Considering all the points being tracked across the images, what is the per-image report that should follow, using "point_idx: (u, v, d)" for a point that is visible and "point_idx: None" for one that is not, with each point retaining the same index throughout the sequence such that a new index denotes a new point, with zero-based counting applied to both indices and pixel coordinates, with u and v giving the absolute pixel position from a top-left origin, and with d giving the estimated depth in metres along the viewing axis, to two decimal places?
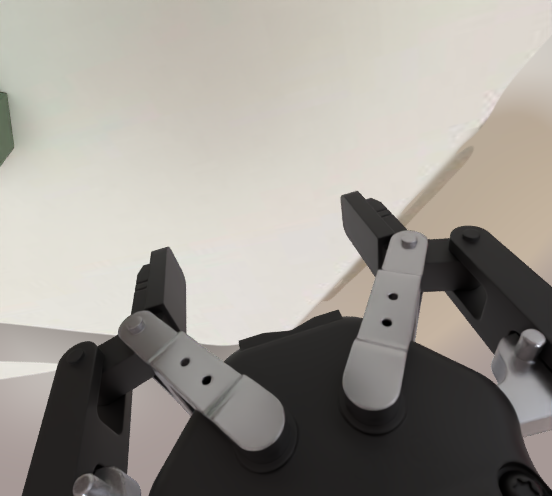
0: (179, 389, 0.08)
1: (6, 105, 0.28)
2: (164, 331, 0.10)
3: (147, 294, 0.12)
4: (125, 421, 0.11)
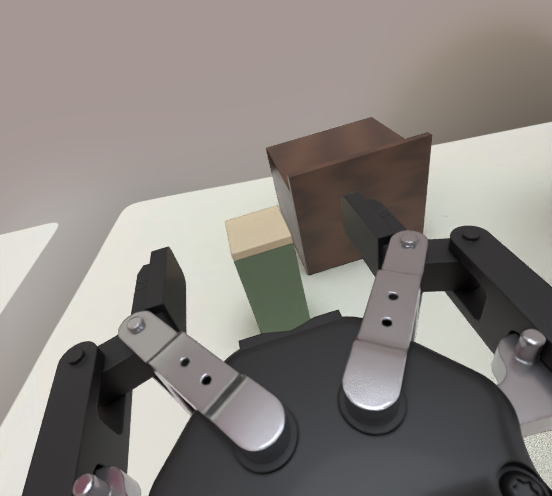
0: (179, 389, 0.08)
1: None
2: (164, 331, 0.10)
3: (147, 294, 0.12)
4: (125, 421, 0.11)
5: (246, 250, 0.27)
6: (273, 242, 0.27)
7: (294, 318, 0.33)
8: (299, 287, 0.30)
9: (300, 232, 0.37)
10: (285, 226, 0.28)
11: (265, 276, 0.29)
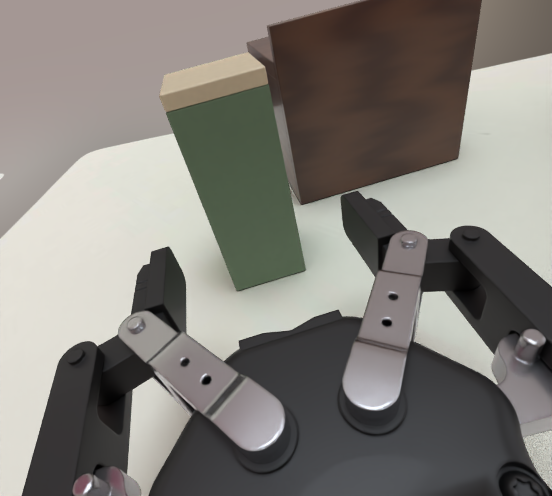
0: (179, 389, 0.08)
1: (293, 269, 0.23)
2: (164, 331, 0.10)
3: (147, 294, 0.12)
4: (125, 421, 0.11)
5: (186, 90, 0.15)
6: (234, 78, 0.15)
7: (276, 240, 0.21)
8: (282, 180, 0.19)
9: (289, 131, 0.26)
10: (256, 62, 0.16)
11: (224, 153, 0.17)
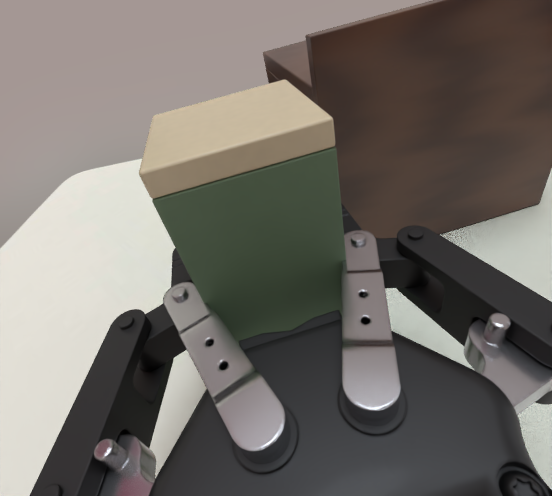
0: (198, 367, 0.09)
1: None
2: None
3: None
4: (159, 391, 0.11)
5: (189, 162, 0.08)
6: (276, 140, 0.08)
7: None
8: (339, 283, 0.12)
9: None
10: (311, 104, 0.09)
11: (253, 253, 0.10)
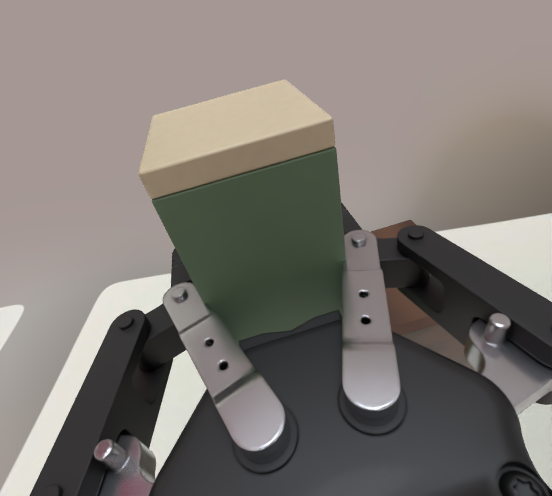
0: (197, 367, 0.09)
1: None
2: None
3: None
4: (159, 392, 0.11)
5: (188, 162, 0.08)
6: (276, 140, 0.08)
7: None
8: (339, 284, 0.12)
9: None
10: (311, 104, 0.09)
11: (253, 253, 0.10)
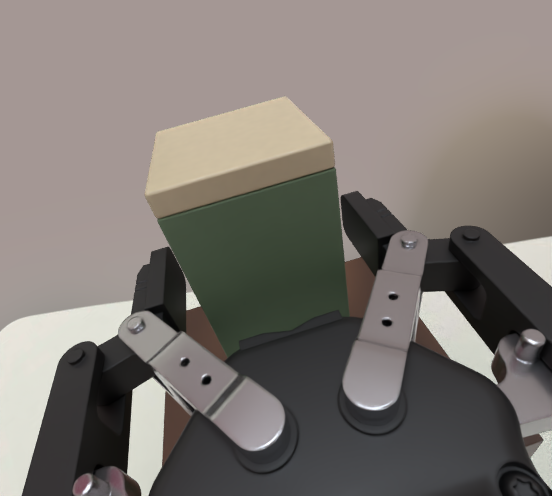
0: (179, 389, 0.08)
1: None
2: (164, 331, 0.10)
3: (147, 294, 0.12)
4: (125, 421, 0.11)
5: (193, 184, 0.09)
6: (278, 162, 0.09)
7: None
8: (339, 296, 0.12)
9: None
10: (311, 124, 0.10)
11: (254, 269, 0.11)
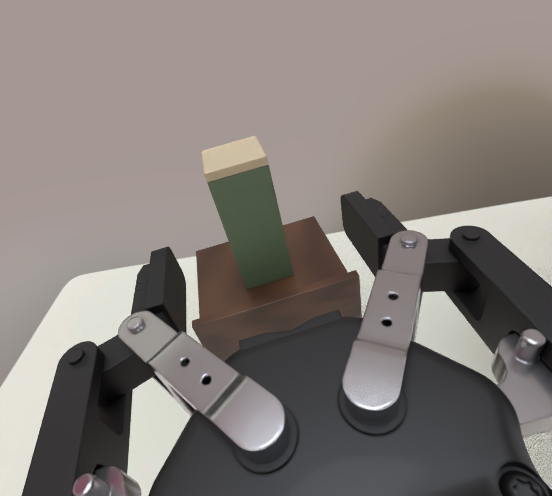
0: (179, 389, 0.08)
1: (285, 274, 0.34)
2: (164, 331, 0.10)
3: (147, 294, 0.12)
4: (125, 421, 0.11)
5: (220, 170, 0.26)
6: (248, 163, 0.26)
7: (273, 255, 0.32)
8: (276, 218, 0.30)
9: None
10: (261, 149, 0.27)
11: (241, 203, 0.28)
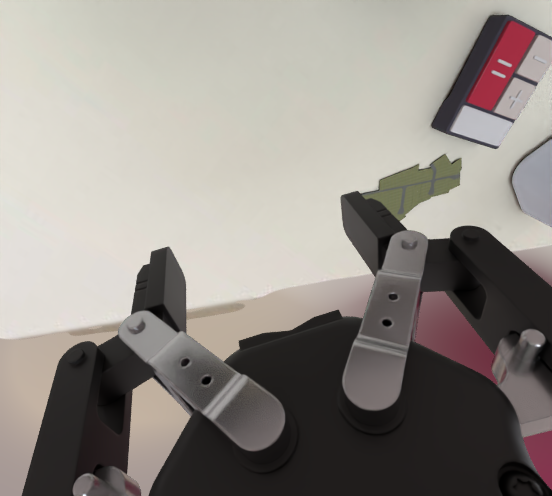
0: (179, 389, 0.08)
1: None
2: (164, 331, 0.10)
3: (147, 294, 0.12)
4: (125, 421, 0.11)
5: None
6: None
7: None
8: None
9: None
10: None
11: None
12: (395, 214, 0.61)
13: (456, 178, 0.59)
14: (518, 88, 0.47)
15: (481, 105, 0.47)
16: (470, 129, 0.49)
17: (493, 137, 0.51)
